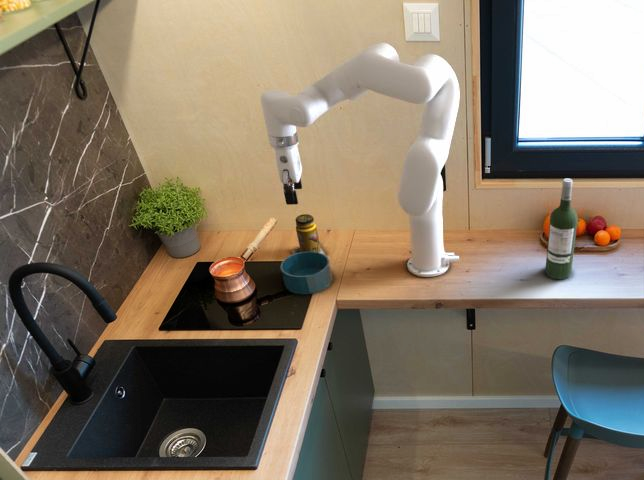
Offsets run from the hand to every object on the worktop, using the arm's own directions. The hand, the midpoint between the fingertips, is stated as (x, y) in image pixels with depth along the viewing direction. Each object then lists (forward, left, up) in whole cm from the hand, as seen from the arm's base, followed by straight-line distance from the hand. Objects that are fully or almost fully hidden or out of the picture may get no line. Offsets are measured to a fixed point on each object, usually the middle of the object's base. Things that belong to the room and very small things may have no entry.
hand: (294, 196), depth 174 cm
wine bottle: (-77, +18, -20) cm, 81 cm away
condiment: (-1, 0, -20) cm, 20 cm away
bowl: (-3, +16, -19) cm, 25 cm away
